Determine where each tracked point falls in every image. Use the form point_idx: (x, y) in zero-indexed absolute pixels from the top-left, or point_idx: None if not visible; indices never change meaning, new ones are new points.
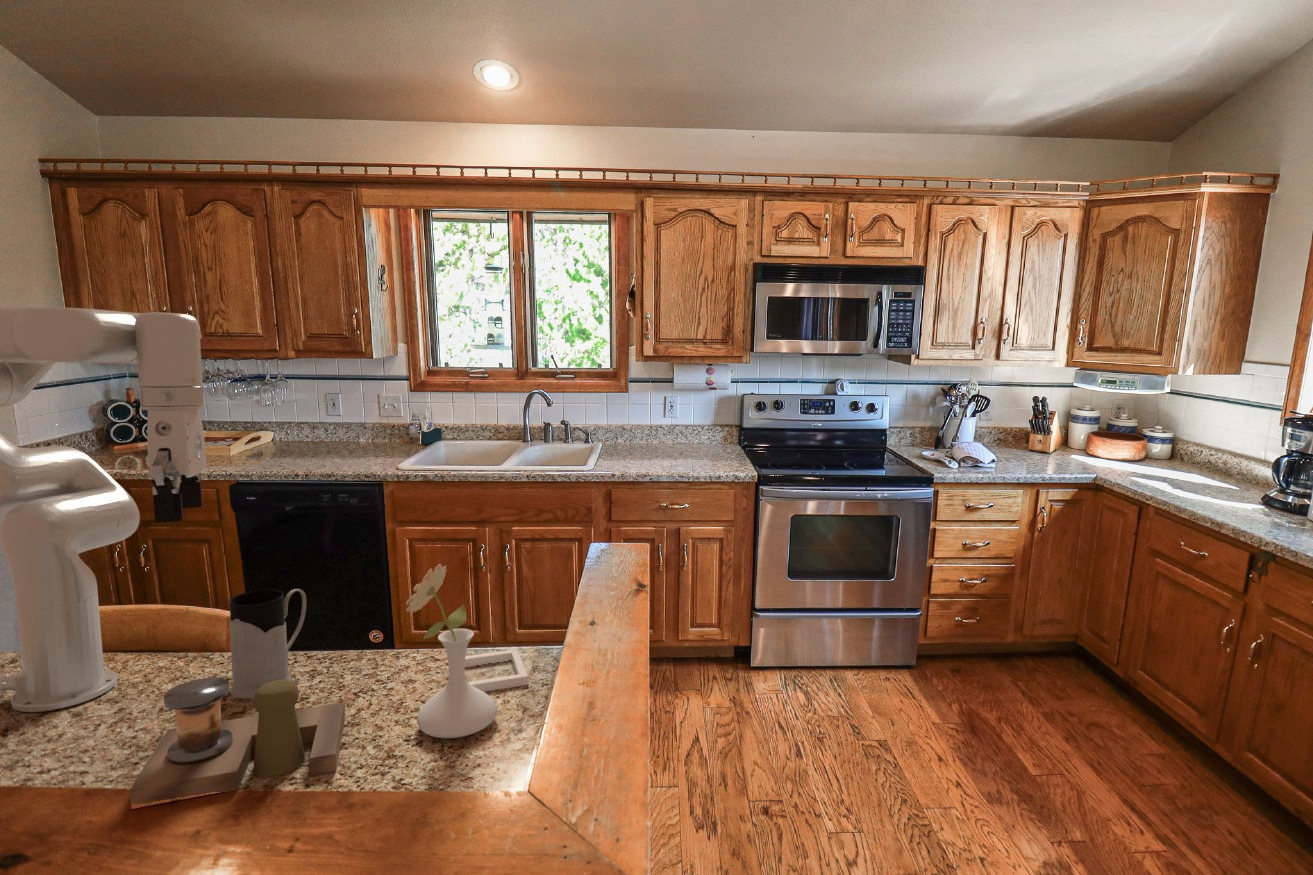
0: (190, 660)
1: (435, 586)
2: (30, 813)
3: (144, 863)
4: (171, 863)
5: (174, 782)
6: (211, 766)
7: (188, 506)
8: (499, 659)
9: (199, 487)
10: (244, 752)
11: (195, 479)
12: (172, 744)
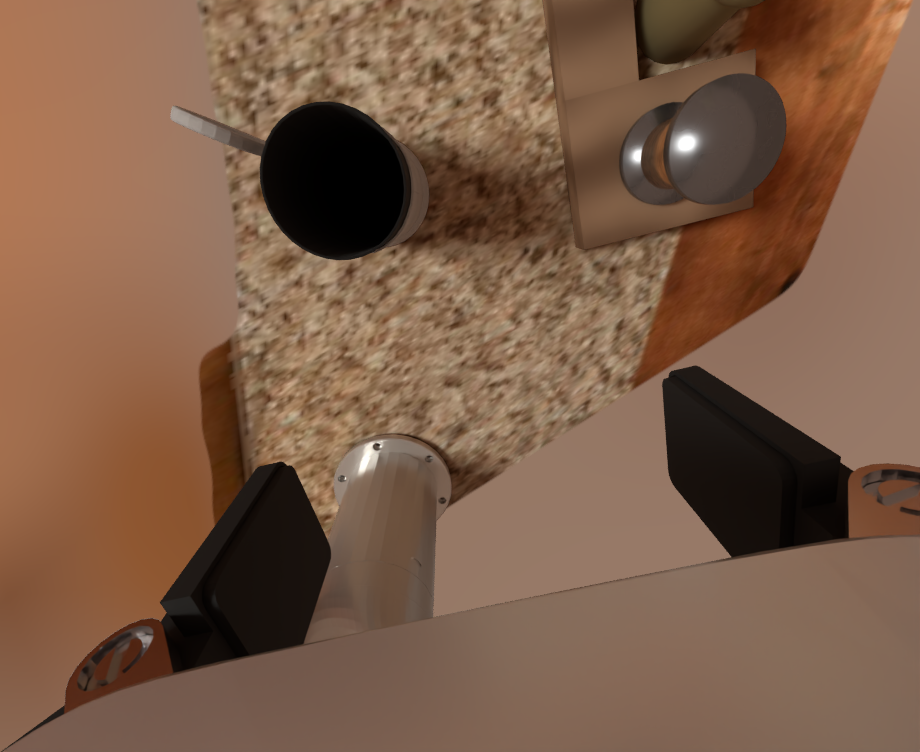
0: (277, 377)
1: None
2: (699, 330)
3: (864, 116)
4: (880, 75)
5: None
6: None
7: (312, 514)
8: None
9: (222, 557)
10: (696, 65)
11: (177, 651)
12: (659, 204)
